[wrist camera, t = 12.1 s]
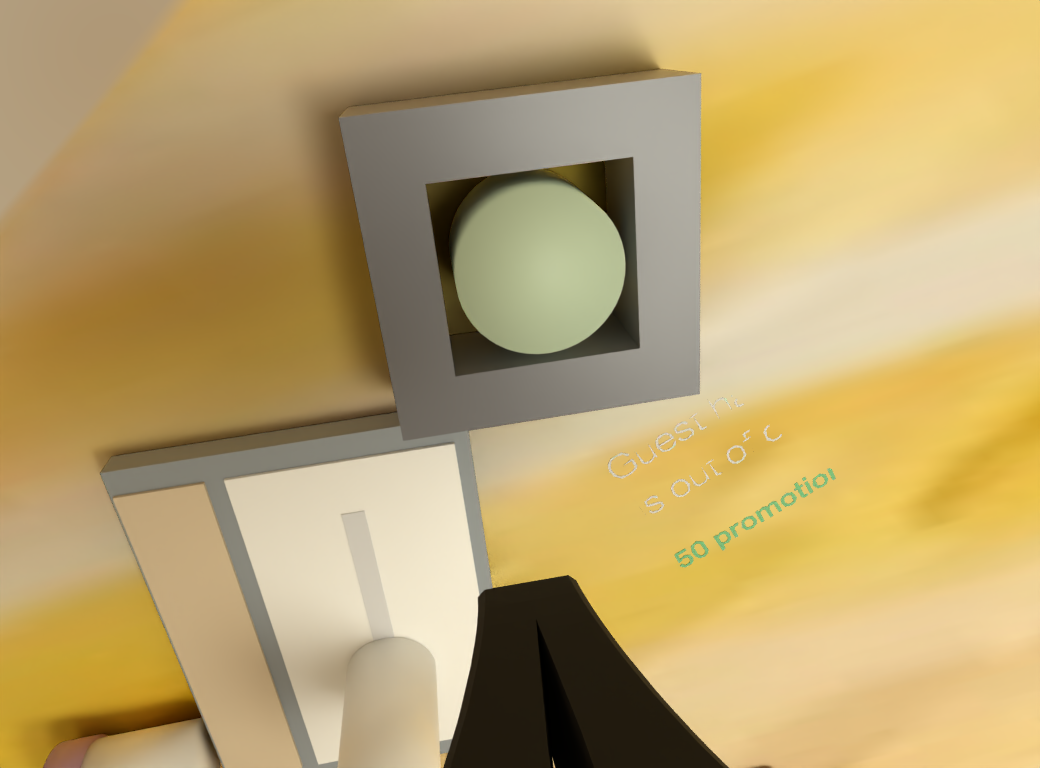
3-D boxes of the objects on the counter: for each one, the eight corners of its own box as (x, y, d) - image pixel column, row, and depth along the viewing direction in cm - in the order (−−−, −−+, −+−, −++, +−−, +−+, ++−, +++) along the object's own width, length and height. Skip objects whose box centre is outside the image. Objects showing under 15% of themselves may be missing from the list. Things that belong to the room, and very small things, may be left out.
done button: (593, 157, 17) (621, 175, 15) (601, 304, 18) (628, 340, 16) (438, 177, 17) (442, 199, 14) (460, 325, 18) (467, 365, 16)
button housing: (661, 68, 16) (700, 73, 14) (666, 353, 19) (699, 394, 17) (348, 107, 16) (338, 117, 14) (403, 393, 19) (402, 441, 17)
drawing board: (464, 401, 19) (465, 418, 18) (512, 718, 24) (516, 743, 24) (111, 456, 19) (97, 476, 18) (239, 771, 24) (233, 798, 23)
